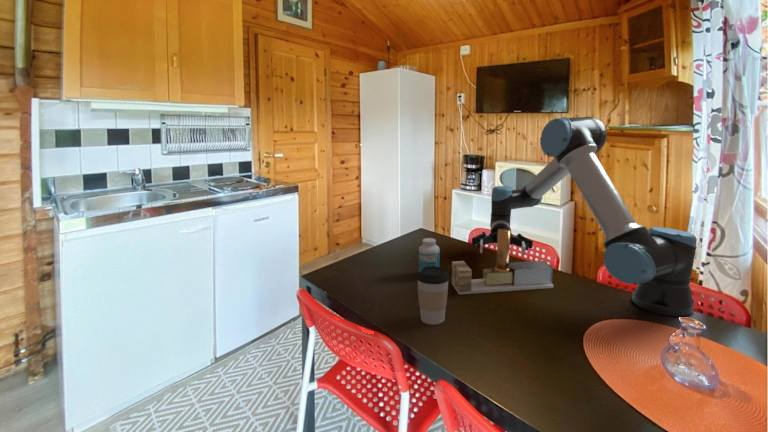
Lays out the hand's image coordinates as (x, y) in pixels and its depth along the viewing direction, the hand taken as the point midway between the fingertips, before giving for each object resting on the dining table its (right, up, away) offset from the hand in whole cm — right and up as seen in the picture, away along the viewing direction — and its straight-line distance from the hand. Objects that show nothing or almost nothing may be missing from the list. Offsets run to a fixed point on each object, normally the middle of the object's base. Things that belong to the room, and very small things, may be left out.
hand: (502, 250), depth 135 cm
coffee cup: (-25, -18, -17) cm, 35 cm away
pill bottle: (-22, -11, +14) cm, 29 cm away
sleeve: (+10, -12, +5) cm, 16 cm away
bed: (+1, -12, +4) cm, 13 cm away
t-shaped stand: (+5, -11, +4) cm, 12 cm away
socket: (-13, -13, +3) cm, 19 cm away
